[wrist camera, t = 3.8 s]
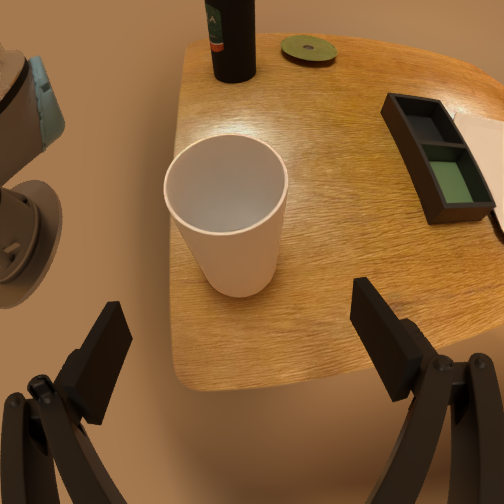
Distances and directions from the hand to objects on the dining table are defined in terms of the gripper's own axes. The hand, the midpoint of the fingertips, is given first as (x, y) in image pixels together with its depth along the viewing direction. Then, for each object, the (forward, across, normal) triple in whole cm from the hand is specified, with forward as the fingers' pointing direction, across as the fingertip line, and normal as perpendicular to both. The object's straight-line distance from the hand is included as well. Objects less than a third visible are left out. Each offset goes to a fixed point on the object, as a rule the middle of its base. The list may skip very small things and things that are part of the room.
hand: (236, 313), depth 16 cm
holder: (+26, +31, +4) cm, 41 cm away
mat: (+47, +17, +25) cm, 56 cm away
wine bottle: (+43, +2, +20) cm, 47 cm away
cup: (+17, 0, -5) cm, 18 cm away
